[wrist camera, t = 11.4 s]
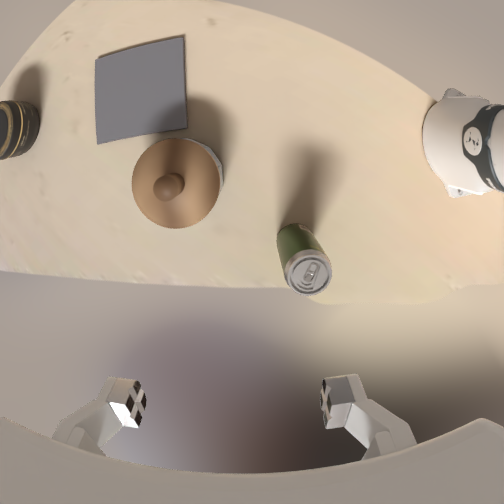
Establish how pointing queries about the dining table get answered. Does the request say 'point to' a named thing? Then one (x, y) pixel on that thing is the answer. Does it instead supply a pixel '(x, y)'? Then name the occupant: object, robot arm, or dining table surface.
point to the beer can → (303, 260)
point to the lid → (176, 183)
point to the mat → (140, 91)
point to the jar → (17, 128)
